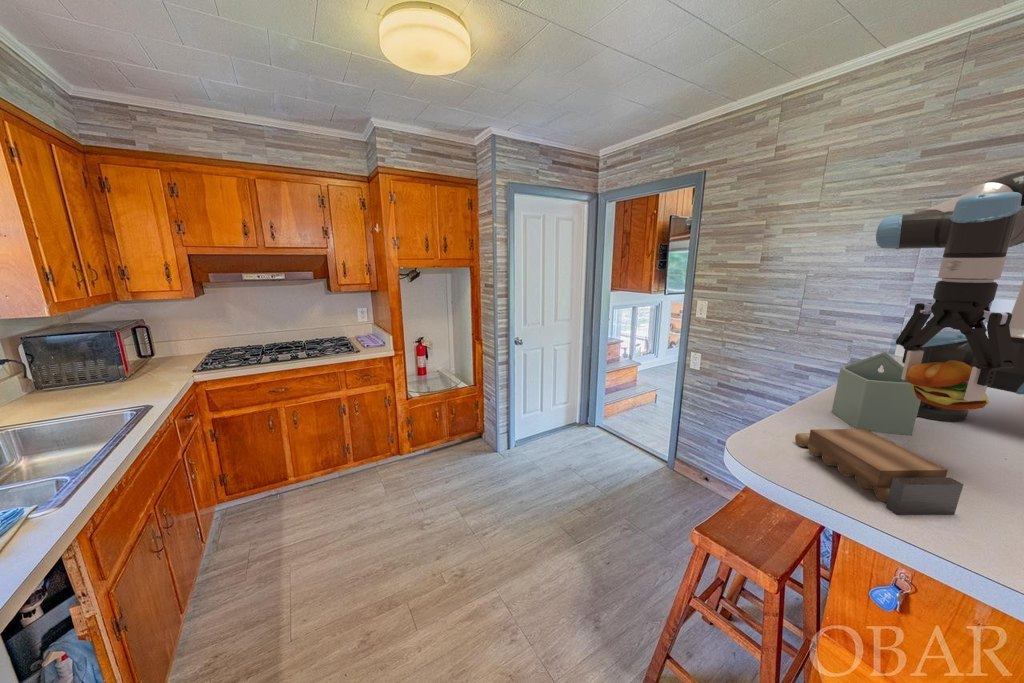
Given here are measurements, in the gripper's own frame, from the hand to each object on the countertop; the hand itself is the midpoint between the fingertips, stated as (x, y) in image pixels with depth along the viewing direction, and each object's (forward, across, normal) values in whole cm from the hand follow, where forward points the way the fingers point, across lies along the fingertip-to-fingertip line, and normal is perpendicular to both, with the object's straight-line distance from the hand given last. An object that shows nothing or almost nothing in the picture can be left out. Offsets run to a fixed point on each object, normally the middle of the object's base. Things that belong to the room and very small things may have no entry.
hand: (938, 389), depth 75 cm
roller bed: (+17, +1, -15) cm, 23 cm away
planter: (+18, -19, +5) cm, 26 cm away
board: (+14, +4, -15) cm, 21 cm away
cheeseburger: (+3, 0, +1) cm, 3 cm away
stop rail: (+17, +14, -15) cm, 27 cm away
